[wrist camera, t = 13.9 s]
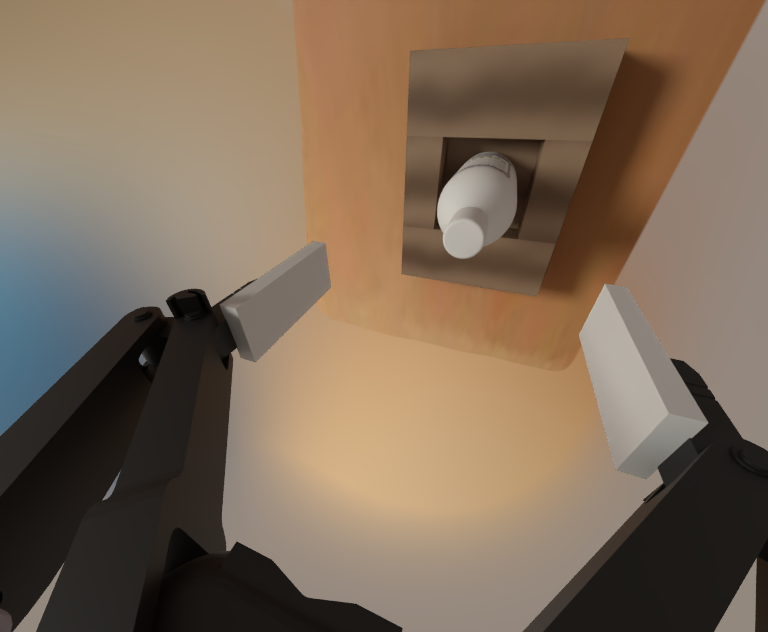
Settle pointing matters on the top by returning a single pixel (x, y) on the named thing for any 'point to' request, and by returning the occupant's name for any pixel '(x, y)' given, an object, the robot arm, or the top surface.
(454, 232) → the bath foam
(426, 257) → the walnut holder
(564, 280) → the top surface
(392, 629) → the robot arm
